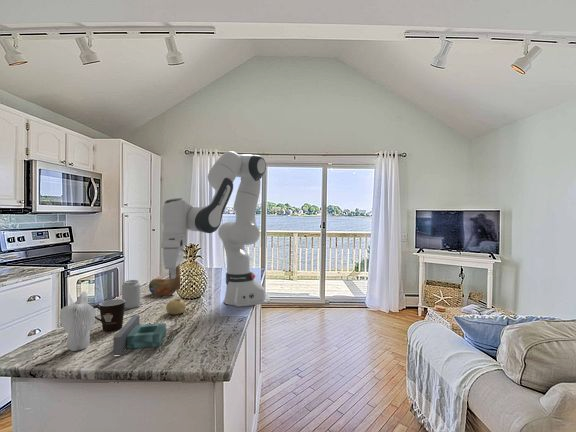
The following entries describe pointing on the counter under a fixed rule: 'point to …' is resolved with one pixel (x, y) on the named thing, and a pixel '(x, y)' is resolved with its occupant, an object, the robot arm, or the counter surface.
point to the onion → (176, 306)
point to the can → (131, 293)
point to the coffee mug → (111, 314)
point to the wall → (124, 335)
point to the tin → (160, 287)
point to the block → (146, 335)
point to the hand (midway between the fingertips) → (174, 276)
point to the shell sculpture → (78, 322)
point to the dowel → (175, 280)
